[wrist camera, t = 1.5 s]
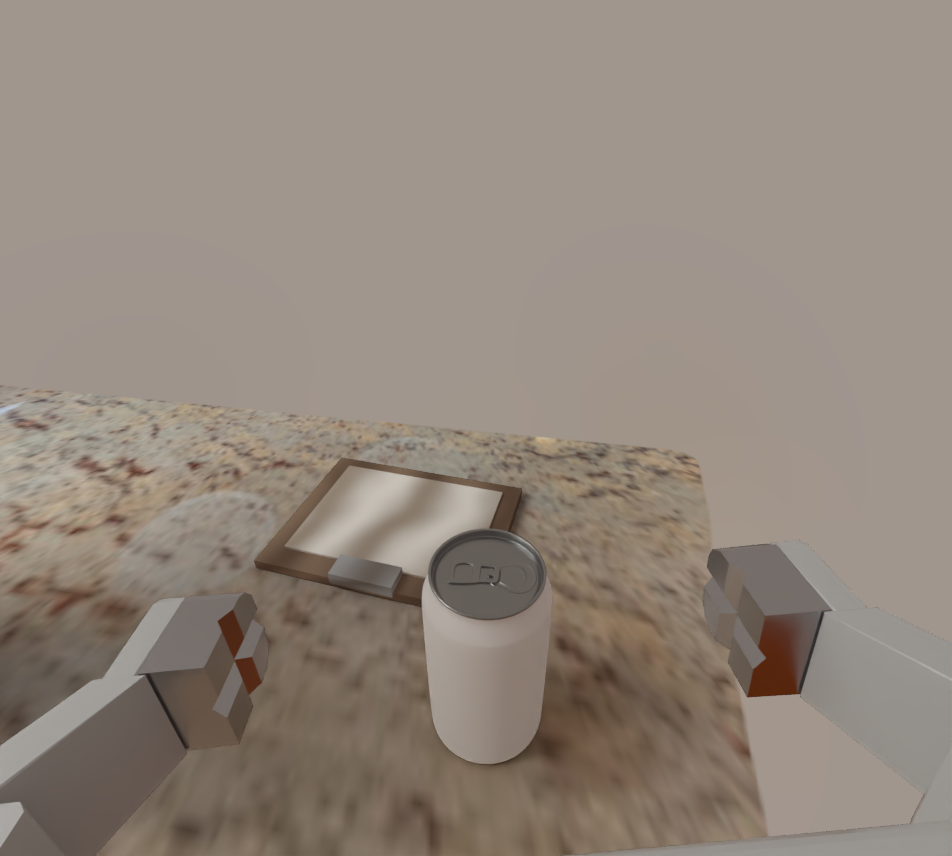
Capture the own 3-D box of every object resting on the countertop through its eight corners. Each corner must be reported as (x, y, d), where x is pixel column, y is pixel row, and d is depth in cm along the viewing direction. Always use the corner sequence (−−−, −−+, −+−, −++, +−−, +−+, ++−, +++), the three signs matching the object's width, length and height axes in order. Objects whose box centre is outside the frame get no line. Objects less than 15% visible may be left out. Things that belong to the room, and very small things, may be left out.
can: (540, 775, 29) (557, 633, 22) (422, 761, 29) (405, 620, 23) (540, 665, 34) (554, 526, 28) (441, 656, 35) (431, 518, 28)
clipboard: (255, 569, 41) (250, 555, 40) (342, 464, 52) (340, 451, 52) (479, 622, 37) (479, 608, 36) (521, 495, 48) (522, 482, 47)
